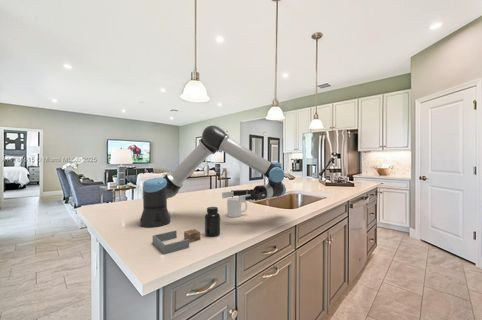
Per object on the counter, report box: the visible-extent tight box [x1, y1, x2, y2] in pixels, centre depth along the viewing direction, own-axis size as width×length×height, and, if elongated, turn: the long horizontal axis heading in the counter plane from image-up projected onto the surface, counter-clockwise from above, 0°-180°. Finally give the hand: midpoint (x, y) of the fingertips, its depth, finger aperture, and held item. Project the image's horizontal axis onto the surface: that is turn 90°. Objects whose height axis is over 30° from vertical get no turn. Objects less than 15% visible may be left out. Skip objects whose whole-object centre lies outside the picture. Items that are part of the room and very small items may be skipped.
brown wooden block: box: [183, 228, 201, 244], centre depth 93 cm, size 5×5×4 cm
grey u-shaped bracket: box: [152, 230, 190, 255], centre depth 87 cm, size 10×14×3 cm
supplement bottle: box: [204, 206, 221, 238], centre depth 99 cm, size 7×7×12 cm
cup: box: [226, 196, 248, 218], centre depth 131 cm, size 8×12×10 cm
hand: (230, 197), depth 105 cm, fingers open, 13 cm apart
